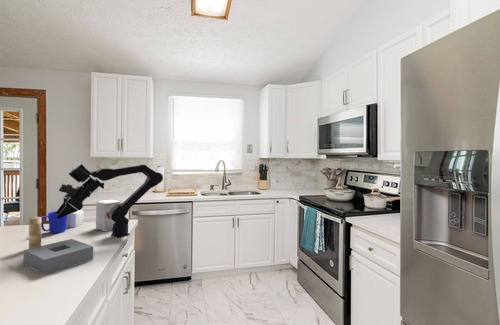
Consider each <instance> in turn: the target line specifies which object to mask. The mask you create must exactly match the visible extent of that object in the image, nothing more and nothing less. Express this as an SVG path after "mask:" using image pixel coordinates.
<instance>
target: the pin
mask: <svg viewBox="0 0 500 325" xmlns="http://www.w3.org/2000/svg"><path fill="white" fill-rule="evenodd" d="M41 217H42V216H35V217H34V216H33V217H29V218H28V222H29V223H28V249H31V248H35V247H39V246H42V227H41Z"/></svg>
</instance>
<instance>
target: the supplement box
mask: <svg viewBox="0 0 500 325" xmlns="http://www.w3.org/2000/svg"><path fill="white" fill-rule="evenodd" d="M116 203H118V204H119V205H120V204H122V202H121V200H115V199H106V200H99V201H96V207H95V208H96V211H95V212H96V214H95V217H96V218H95V229H97V230H99V231H103V232H107V231H112V227H113V224H114V223H115V222H114V221H113V220H112V219H111V218H110V217H109V212H110V211H111V208H113V207H114V206H115V204H116Z"/></svg>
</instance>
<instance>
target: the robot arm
mask: <svg viewBox="0 0 500 325" xmlns="http://www.w3.org/2000/svg"><path fill="white" fill-rule="evenodd" d="M139 173H142V174H143V175H144V176H146V178H145V180H144V182H143V183H142V184H141V185H140V186H139V187H138V188H137V189H136V190H135V191H134V192H133V193H132V194H131V195H130V196H129V197H128V198H126V199H125V200H124V201H123V202H121V204H120V205H119V204H118V203H116V204H115V206H114V207H113V208H111V211H110V212H109V217H110V218H111V219H112V220H113V221H114V222H115V223H114V224H113V227H112V230H111V234H110V236H111V237H115V238H117V239H118V238H123V237H126V236H129V235H130V234H131V233H129V222H130V220H129V219H128V218H127V217H126V215H127V214H128V213H129V210H130V209H131V208H132V207H133V206H134V205H135V204H136V203H137V202H138V201H139V200H140V199H141V198H142V197H143V196H144V195H146V194H147V193H148V192H149V191H150V190H151V189H152V188H154V187H156V186H157V185H159V184H161V183H162V182H163V180H164V177H163V176H164V175H163V173H160V172H157V171H155V170H153V169H152V168H150V167H149V166H148V165H146V164H143V163H142V164H139V165H132V166H125V167H117V168H109V167H107V168H106V167H103V168H101V167H100V168H98V169H97V170H95V171H90V170H88V169H87V168H86V167H85V166H84V165H83V164H79V165H78V166H76V167H75V168H73V169H72V170H71V171H69V172H68V175H69V177H71V178H72V179H73V180H75V181H76V182H77V183H82V184H81V185H80V186H77V187H73V184H72V185H71V184H69V183H67V184H65V183H62V184H61V186H60V187H59V189H58V191H59V192H60V193H65V194H64V197H62V198H63V201H62V204H61V205H60V206H59V207H58V209H57V210H56V211H57V212H56V214H58V216H57V218H61V217H64V216H66V215H68V214H71V213H73V212H76V211H78V210H79V211H82V210H81V209H83V208H84V204H83V203H84V201H86V199H87V198H89V197H91V195H92V194H93V193H94V192H95V191H96V190H97V189H98V188H101V189H103V190H104V189H105V183H104V182H106V181H109V180H112V179H114V178H118V177H121V176H127V175H133V174H139ZM94 178H95V179H94ZM101 181H103V182H101ZM77 209H78V210H77Z"/></svg>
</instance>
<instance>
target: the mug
mask: <svg viewBox="0 0 500 325" xmlns="http://www.w3.org/2000/svg"><path fill="white" fill-rule="evenodd" d="M56 212H57V210H54V211H50V212H48V213H47V215H44V216H40V217H41V231H44V232H50V233H51V234H52V233H53V234H58V233H63V232H65V231H66V230H67V227H66V225H67V215H66V216H64V217H61V218H57V216H58V214H56ZM45 218H48V226H49V227H48V229H45V226H44V219H45Z"/></svg>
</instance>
